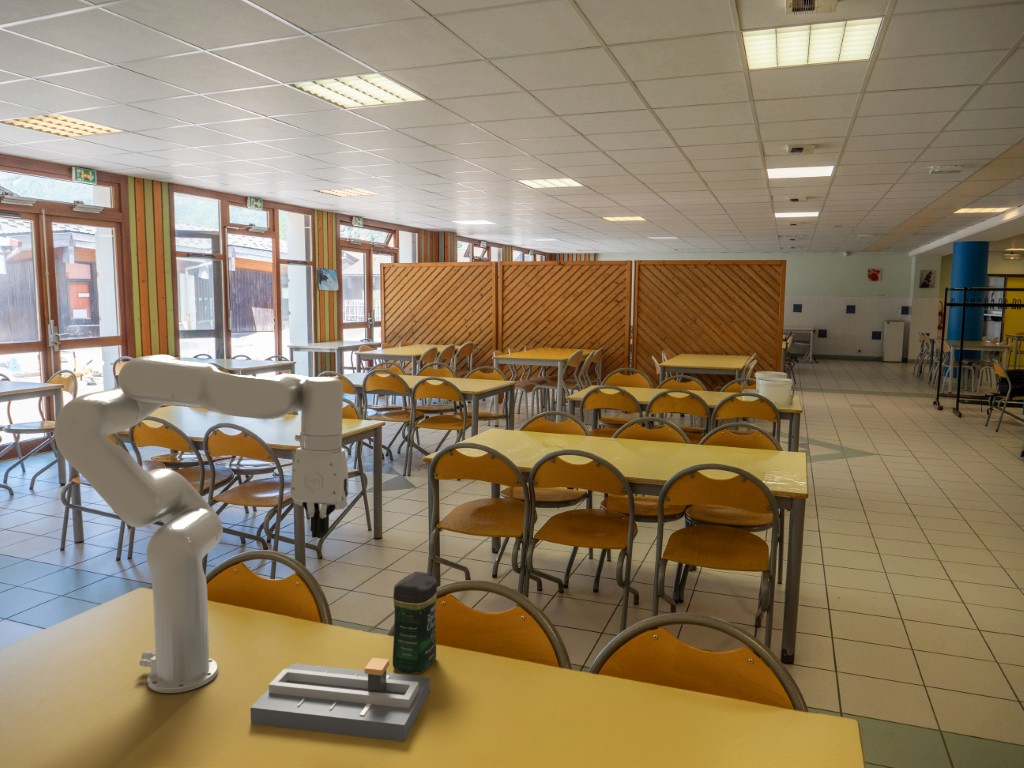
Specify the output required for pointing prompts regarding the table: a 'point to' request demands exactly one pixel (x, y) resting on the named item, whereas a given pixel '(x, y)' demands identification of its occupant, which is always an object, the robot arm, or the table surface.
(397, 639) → the coffee jar
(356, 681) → the console
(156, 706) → the table surface
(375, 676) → the fader
